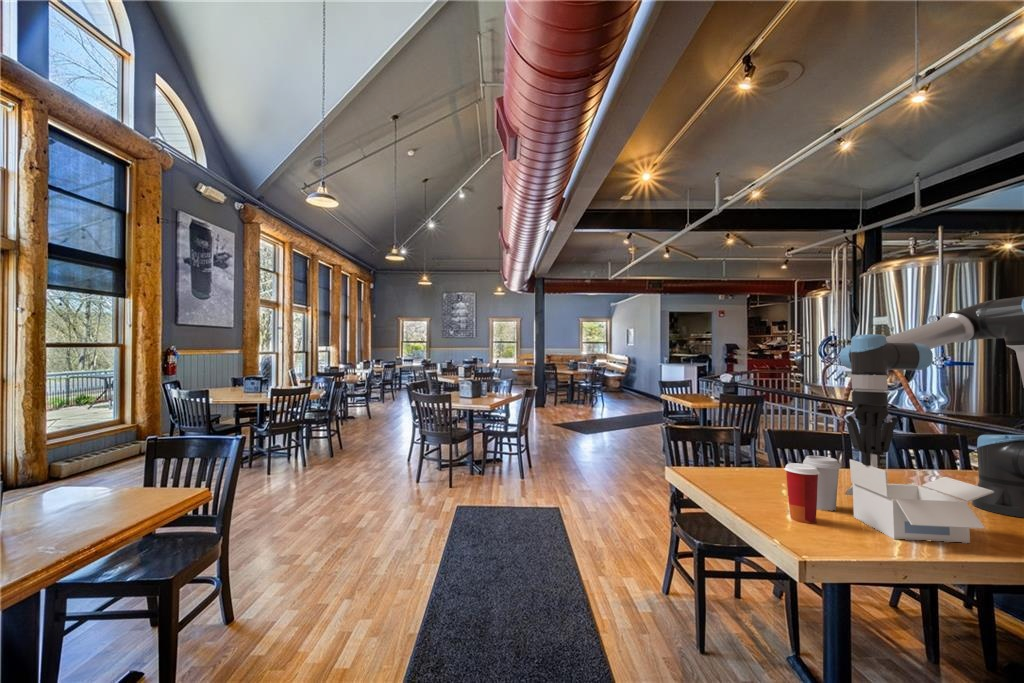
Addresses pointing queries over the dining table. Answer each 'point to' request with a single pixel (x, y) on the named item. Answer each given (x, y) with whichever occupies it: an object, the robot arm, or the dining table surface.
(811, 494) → the coffee cup
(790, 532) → the dining table surface
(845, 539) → the dining table surface
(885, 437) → the robot arm
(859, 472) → the flap
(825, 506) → the coffee cup
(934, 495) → the white carton
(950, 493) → the flap
